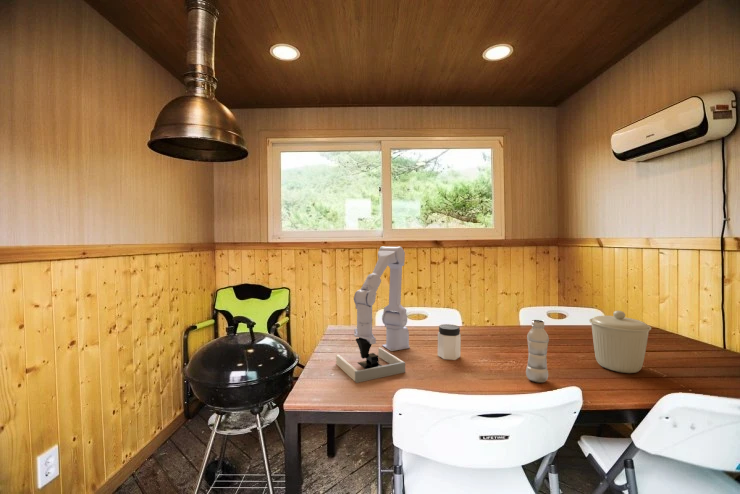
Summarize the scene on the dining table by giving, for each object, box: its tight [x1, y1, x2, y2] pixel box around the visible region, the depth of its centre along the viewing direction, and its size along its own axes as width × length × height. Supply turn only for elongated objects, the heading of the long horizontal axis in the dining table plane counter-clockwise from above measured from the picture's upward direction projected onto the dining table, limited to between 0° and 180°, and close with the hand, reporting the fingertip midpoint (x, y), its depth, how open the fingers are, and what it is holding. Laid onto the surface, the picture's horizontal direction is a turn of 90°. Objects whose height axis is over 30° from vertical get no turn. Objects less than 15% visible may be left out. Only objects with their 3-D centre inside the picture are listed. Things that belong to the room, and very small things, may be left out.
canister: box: [588, 310, 652, 374], centre depth 121 cm, size 18×18×21 cm
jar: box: [437, 323, 462, 361], centre depth 132 cm, size 9×8×12 cm
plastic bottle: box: [525, 319, 550, 383], centre depth 109 cm, size 6×7×20 cm
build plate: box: [357, 352, 383, 369], centre depth 122 cm, size 12×7×5 cm, turn 30°
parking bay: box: [335, 347, 406, 384], centre depth 120 cm, size 19×18×4 cm
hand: (364, 357), depth 124 cm, fingers closed
